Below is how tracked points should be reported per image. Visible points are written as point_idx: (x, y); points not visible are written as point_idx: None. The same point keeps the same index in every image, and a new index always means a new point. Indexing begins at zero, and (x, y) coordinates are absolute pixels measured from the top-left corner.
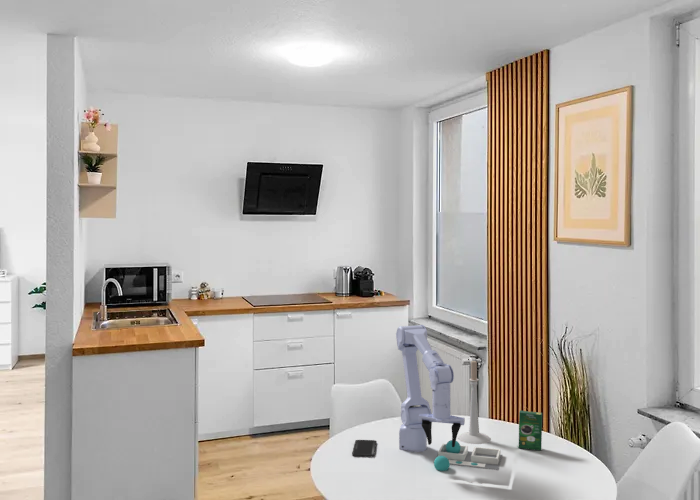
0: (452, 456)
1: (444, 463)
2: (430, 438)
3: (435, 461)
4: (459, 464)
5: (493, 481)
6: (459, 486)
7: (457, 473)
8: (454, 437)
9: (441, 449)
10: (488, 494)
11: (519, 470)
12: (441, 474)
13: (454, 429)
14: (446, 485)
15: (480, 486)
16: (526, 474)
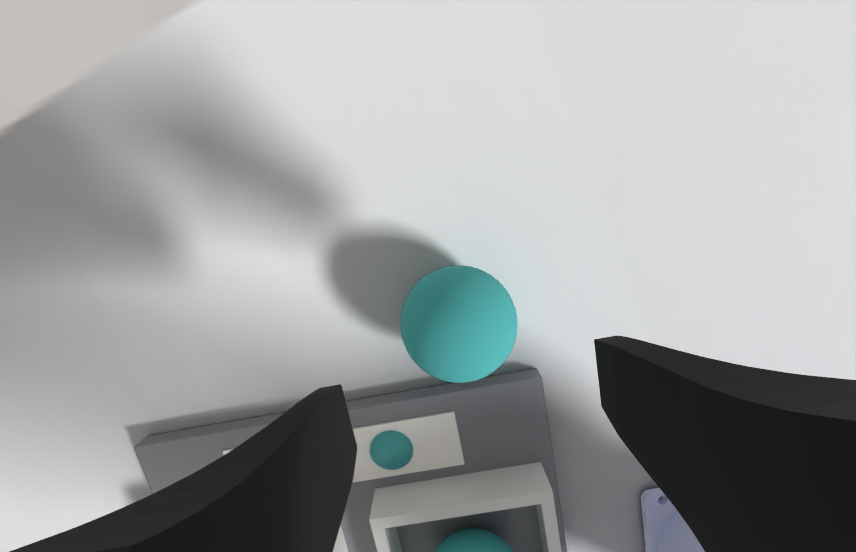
0: (448, 492)
1: (421, 292)
2: (633, 394)
3: (497, 290)
4: (377, 424)
5: (117, 310)
6: (259, 131)
7: (355, 324)
8: (246, 445)
9: (547, 543)
10: (47, 100)
11: (71, 521)
12: (439, 262)
13: (96, 536)
14: (340, 103)
15: (147, 199)
16: (14, 487)
